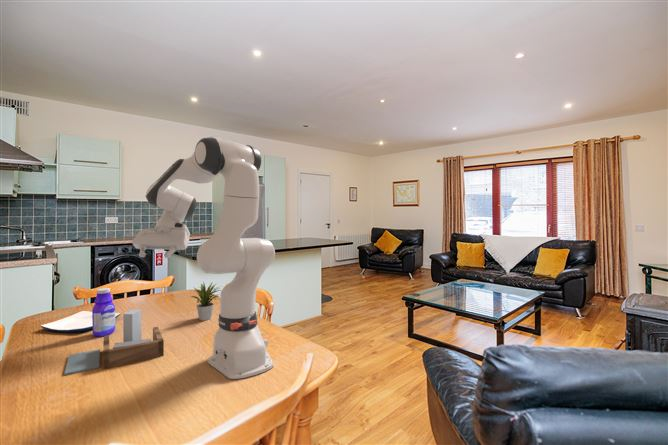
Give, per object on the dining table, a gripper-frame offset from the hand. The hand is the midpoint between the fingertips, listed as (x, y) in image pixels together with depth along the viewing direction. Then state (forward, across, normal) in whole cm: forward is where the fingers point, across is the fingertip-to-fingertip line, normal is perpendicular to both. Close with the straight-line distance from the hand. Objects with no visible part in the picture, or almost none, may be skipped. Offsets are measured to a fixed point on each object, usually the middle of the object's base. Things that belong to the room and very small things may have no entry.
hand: (153, 256), depth 119 cm
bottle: (+22, -19, +22) cm, 36 cm away
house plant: (+10, +13, +34) cm, 37 cm away
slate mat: (+37, -9, +5) cm, 39 cm away
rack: (+32, +2, +10) cm, 34 cm away
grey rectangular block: (+30, 0, +12) cm, 33 cm away
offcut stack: (+34, +4, +8) cm, 35 cm away
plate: (+15, -34, +29) cm, 47 cm away
